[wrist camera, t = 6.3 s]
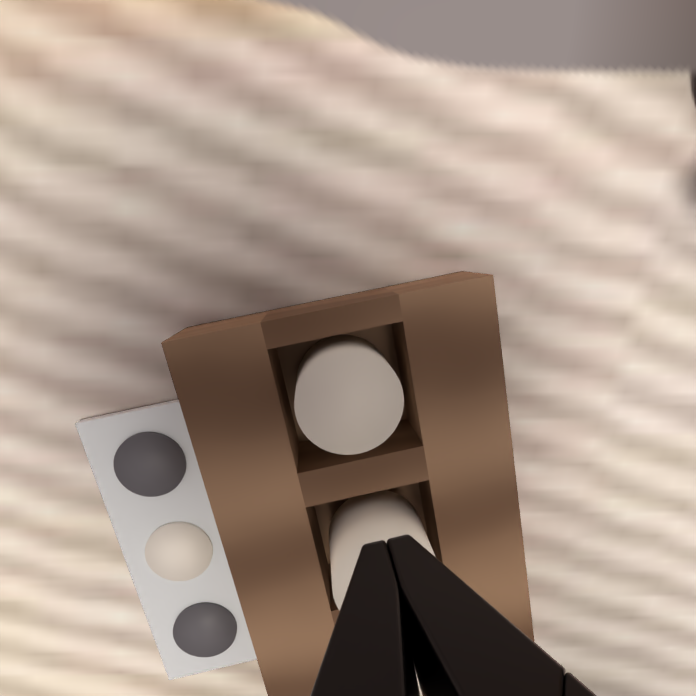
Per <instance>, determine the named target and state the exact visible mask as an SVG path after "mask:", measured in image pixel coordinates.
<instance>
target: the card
mask: <svg viewBox="0 0 696 696" xmlns="http://www.w3.org/2000/svg"><path fill="white" fill-rule="evenodd" d="M75 425H76V428H77V431H78V433H79V436H80V439H81V441H82V444H83V447H84V450H85V452H86V455H87V458H88V460H89V463H90V466H91V469H92V471H93V474H94V477H95V479H96V482H97V485H98V488H99V490H100V493H101V496H102V498H103V501H104V504H105V507H106V509H107V512H108V515H109V517H110V520H111V523H112V526H113V528H114V531H115V534H116V536H117V539H118V542H119V545H120V547H121V550H122V553H123V555H124V558H125V561H126V564H127V566H128V569H129V572H130V575H131V577H132V580H133V583H134V585H135V588H136V591H137V594H138V596H139V599H140V602H141V604H142V607H143V610H144V613H145V615H146V618H147V621H148V623H149V626H150V629H151V632H152V634H153V637H154V640H155V642H156V645H157V648H158V651H159V653H160V656H161V659H162V661H163V664H164V667H165V670H166V672H167V675H168V678H169V680H172V679H177V678H181V677H185V676H189V675H194V674H198V673H202V672H206V671H210V670H215V669H219V668H223V667H227V666H231V665H236V664H240V663H244V662H248V661H252V660H257V657H256V654H255V651H254V647H253V644H252V641H251V637H250V634H249V631H248V628H247V624H246V621H245V618H244V614H243V611H242V608H241V604H240V601H239V598H238V595H237V591H236V588H235V585H234V581H233V578H232V575H231V571H230V568H229V565H228V561H227V558H226V555H225V552H224V548H223V545H222V542H221V538H220V535H219V532H218V528H217V525H216V522H215V519H214V515H213V512H212V509H211V505H210V502H209V499H208V495H207V492H206V489H205V486H204V482H203V479H202V476H201V472H200V469H199V466H198V462H197V459H196V456H195V453H194V449H193V446H192V443H191V439H190V436H189V433H188V429H187V426H186V423H185V420H184V416H183V413H182V410H181V406H180V403H179V400H178V399H177V400H173V401H168V402H163V403H158V404H154V405H149V406H144V407H139V408H135V409H130V410H125V411H120V412H116V413H111V414H106V415H101V416H96V417H92V418H87V419H82V420H79V421H78V422H76V423H75Z"/></svg>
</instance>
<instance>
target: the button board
mask: <svg viewBox="0 0 696 696" xmlns="http://www.w3.org/2000/svg"><path fill="white" fill-rule="evenodd" d="M335 335H353V336H357V337H360V338H363V339H365V340H367V341H369V342H370V343H372V344H373V345H374V346H375V347H376V348H377V349H378V350H379V351H380V352H381V354H382V355H383V356H384V358H385V359H386V361H387V362H388V363H389V365H390V366H391V368H392V369H393V370H394V372H395V373H396V375H397V377H398V378H399V380H400V383H401V385H402V389H403V394H404V408H403V413H402V416H401V419H400V422H399V424H398V426H397V427H396V429H395V431H394V432H393V433H392V434H391V436H390V437H389V438H388V439H387V440H386V441H384V442H383V443H382V444H380V445H379V446H377V447H375V448H374V449H372V450H369V451H367V452H363V453H360V454H353V455H342V454H335V453H331V452H328V451H326V450H324V449H322V448H320V447H318V446H317V445H315V444H314V443H312V442H311V441H310V440H309V439H308V438H307V437H306V436H305V434H304V433H303V431H302V430H301V428H300V426H299V424H298V422H297V419H296V416H295V410H294V399H295V390H296V381H297V372H298V368H299V365H300V363H301V360H302V359H303V357H304V355H305V354H306V353H307V351H308V350H309V349H310V348H311V347H312V346H314V345H315V344H316V343H318V342H319V341H321V340H323V339H325V338H328V337H331V336H335ZM161 344H162V347H163V350H164V354H165V357H166V360H167V363H168V367H169V370H170V373H171V377H172V380H173V383H174V387H175V390H176V393H177V396H178V400H179V403H180V406H181V410H182V413H183V416H184V420H185V423H186V426H187V429H188V433H189V436H190V439H191V443H192V446H193V449H194V453H195V456H196V459H197V462H198V466H199V469H200V472H201V476H202V479H203V482H204V486H205V489H206V492H207V495H208V499H209V502H210V505H211V509H212V512H213V515H214V519H215V522H216V525H217V528H218V532H219V535H220V538H221V542H222V545H223V548H224V552H225V555H226V558H227V561H228V565H229V568H230V571H231V575H232V578H233V581H234V585H235V588H236V591H237V595H238V598H239V601H240V604H241V608H242V611H243V614H244V618H245V621H246V624H247V628H248V631H249V634H250V637H251V641H252V644H253V647H254V651H255V654H256V657H257V661H258V664H259V667H260V670H261V674H262V677H263V680H264V684H265V687H266V690H267V694H268V696H310V695H311V692H312V689H313V687H314V684H315V681H316V678H317V675H318V672H319V669H320V666H321V663H322V661H323V658H324V655H325V652H326V649H327V646H328V643H329V640H330V637H331V635H332V632H333V629H334V626H335V623H336V620H337V617H338V614H339V612H340V610H339V609H338V607H337V605H336V603H335V601H334V598H333V592H332V578H331V562H330V547H329V526H330V523H331V520H332V518H333V515H334V514H335V512H336V511H337V509H338V508H339V507H340V506H341V505H342V504H343V503H344V502H345V501H347V500H348V499H349V498H351V497H355V496H360V495H364V494H369V493H373V492H378V491H382V490H386V491H391V492H394V493H397V494H399V495H401V496H403V497H404V498H406V499H407V500H408V501H409V502H410V503H411V504H412V505H413V506H414V508H415V509H416V511H417V513H418V516H419V518H420V520H421V523H422V525H423V528H424V530H425V532H426V535H427V537H428V540H429V542H430V545H431V547H432V549H433V552H434V554H435V557H436V558H437V559H438V560H439V561H441V562H442V563H443V564H444V565H445V566H446V567H448V568H449V569H450V570H451V571H452V572H453V573H455V574H456V575H457V576H458V577H459V578H460V579H461V580H463V581H464V582H465V583H466V584H467V585H468V586H470V587H471V588H472V589H473V590H474V591H475V592H477V593H478V594H479V595H480V596H481V597H482V598H484V599H485V600H486V601H487V602H488V603H489V604H491V605H492V606H493V607H494V608H495V609H496V610H497V611H499V612H500V613H501V614H502V615H503V616H504V617H506V618H507V619H508V620H509V621H510V622H511V623H513V624H514V625H515V626H516V627H517V628H518V629H520V630H521V631H522V632H523V633H524V634H525V635H526V636H528V637H529V638H530V639H531V640H532V641H533V642H534V635H533V626H532V617H531V608H530V600H529V591H528V582H527V573H526V564H525V555H524V546H523V537H522V528H521V519H520V511H519V502H518V493H517V484H516V475H515V466H514V457H513V448H512V439H511V430H510V422H509V413H508V404H507V395H506V386H505V377H504V368H503V359H502V350H501V341H500V333H499V324H498V315H497V306H496V297H495V288H494V279H493V275H490V274H481V273H472V272H464V271H461V272H456V273H451V274H447V275H442V276H437V277H432V278H427V279H422V280H417V281H412V282H407V283H402V284H397V285H393V286H388V287H383V288H378V289H373V290H368V291H363V292H358V293H353V294H348V295H343V296H338V297H334V298H329V299H324V300H319V301H314V302H309V303H304V304H299V305H294V306H289V307H284V308H279V309H275V310H270V311H265V312H260V313H255V314H250V315H245V316H240V317H235V318H230V319H225V320H220V321H216V322H211V323H206V324H201V325H196V326H191V327H187V328H185V329H183V330H182V331H180V332H178V333H177V334H175V335H173V336H172V337H170V338H168V339H167V340H165V341H163V342H162V343H161Z"/></svg>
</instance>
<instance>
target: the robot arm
mask: <svg viewBox="0 0 696 696" xmlns="http://www.w3.org/2000/svg"><path fill="white" fill-rule="evenodd" d="M416 674H417V676H416ZM417 678H418V681H417ZM418 682H419V685H420V689H421V692H422V695H423V696H596V695H595V694H594V693H593V692H592V691H590V690H589V689H588V688H587V687H586V686H585V685H584V684H582V683H581V682H580V681H579V680H578V679H577V678H576V677H574V676H573V675H572V674H571V673H566V672H565V669H564V668H563V667H562V666H561V665H560V664H559V663H558V662H557V661H556V660H554V659H553V658H552V657H551V656H550V655H549V654H547V653H546V652H545V651H544V650H543V649H542V648H540V647H539V646H538V645H537V644H536V643H535V642H533V641H532V640H531V639H530V638H529V637H528V636H526V635H525V634H524V633H523V632H522V631H521V630H520V629H518V628H517V627H516V626H515V625H514V624H513V623H511V622H510V621H509V620H508V619H507V618H506V617H504V616H503V615H502V614H501V613H500V612H499V611H497V610H496V609H495V608H494V607H493V606H492V605H491V604H489V603H488V602H487V601H486V600H485V599H484V598H482V597H481V596H480V595H479V594H478V593H477V592H475V591H474V590H473V589H472V588H471V587H470V586H468V585H467V584H466V583H465V582H464V581H463V580H461V579H460V578H459V577H458V576H457V575H456V574H455V573H453V572H452V571H451V570H450V569H449V568H448V567H446V566H445V565H444V564H443V563H442V562H441V561H439V560H438V559H437V558H436V557H435V556H434V555H432V554H431V553H430V552H429V551H428V550H427V549H426V548H424V547H423V546H422V545H421V544H420V543H419V542H417V541H416V540H415V539H414V538H413V537H412V536H410V535H408V534H407V535H401V536H397V537H393V538H389V539H388V540H387V543H386V542H385V541H384V540H380V541H375V542H371V543H367V544H364V545H363V546H362V548H361V551H360V554H359V557H358V560H357V562H356V565H355V568H354V571H353V574H352V577H351V580H350V583H349V586H348V588H347V591H346V594H345V597H344V600H343V603H342V606H341V609H340V612H339V614H338V617H337V620H336V623H335V626H334V629H333V632H332V635H331V637H330V640H329V643H328V646H327V649H326V652H325V655H324V658H323V661H322V663H321V666H320V669H319V672H318V675H317V678H316V681H315V684H314V687H313V689H312V692H311V695H310V696H420V692H419V686H418Z"/></svg>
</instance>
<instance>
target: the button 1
mask: <svg viewBox="0 0 696 696" xmlns="http://www.w3.org/2000/svg"><path fill="white" fill-rule="evenodd" d="M403 408H404V394H403V389H402V385H401V383H400V380H399V378H398V377H397V375H396V373H395V372H394V370H393V369H392V368H391V366H390V365H389V363H388V362H387V361H386V359H385V358H384V356H383V355H382V354H381V352H380V351H379V350H378V349H377V348H376V347H375V346H374V345H373V344H372V343H370V342H369V341H367V340H365V339H363V338H360V337H357V336H353V335H335V336H331V337H328V338H325V339H323V340H321V341H319V342H318V343H316V344H315V345H314V346H312V347H311V348H310V349H309V350H308V351H307V353H306V354H305V355H304V357H303V359H302V360H301V363H300V365H299V368H298V372H297V381H296V390H295V399H294V410H295V416H296V419H297V422H298V424H299V426H300V428H301V430H302V431H303V433H304V434H305V436H306V437H307V438H308V439H309V440H310V441H311V442H312V443H314V444H315V445H317V446H318V447H320V448H322V449H324V450H326V451H328V452H331V453H335V454H342V455H353V454H360V453H363V452H367V451H369V450H372V449H374V448H375V447H377V446H379V445H380V444H382V443H383V442H384V441H386V440H387V439H388V438H389V437H390V436H391V434H392V433H393V432H394V431H395V429H396V427H397V426H398V424H399V422H400V419H401V416H402V413H403Z"/></svg>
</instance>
